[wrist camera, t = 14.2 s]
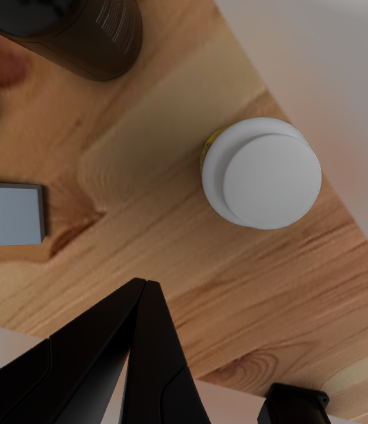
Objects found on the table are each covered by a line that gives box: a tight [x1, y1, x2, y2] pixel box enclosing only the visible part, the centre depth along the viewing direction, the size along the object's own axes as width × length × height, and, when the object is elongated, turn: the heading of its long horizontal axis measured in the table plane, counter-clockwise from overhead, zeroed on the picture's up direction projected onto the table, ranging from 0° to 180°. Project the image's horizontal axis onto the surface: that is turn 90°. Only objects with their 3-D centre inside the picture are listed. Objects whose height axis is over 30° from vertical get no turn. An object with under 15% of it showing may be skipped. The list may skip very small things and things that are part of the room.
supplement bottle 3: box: [200, 117, 322, 230], centre depth 14 cm, size 6×6×10 cm
